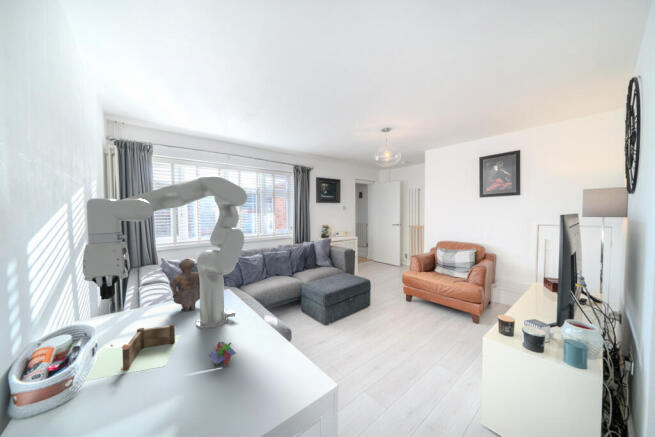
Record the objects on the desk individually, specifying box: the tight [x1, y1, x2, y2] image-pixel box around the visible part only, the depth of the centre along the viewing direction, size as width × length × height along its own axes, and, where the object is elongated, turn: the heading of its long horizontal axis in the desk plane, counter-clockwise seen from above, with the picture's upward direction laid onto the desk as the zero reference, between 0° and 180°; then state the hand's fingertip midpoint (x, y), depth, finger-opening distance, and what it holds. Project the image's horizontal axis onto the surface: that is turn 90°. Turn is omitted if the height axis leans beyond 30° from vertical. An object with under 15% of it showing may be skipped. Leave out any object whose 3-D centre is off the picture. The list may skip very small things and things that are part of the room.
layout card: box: [84, 334, 182, 382], centre depth 79 cm, size 23×20×1 cm
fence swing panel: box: [122, 331, 141, 370], centre depth 76 cm, size 12×2×8 cm, turn 22°
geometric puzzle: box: [208, 341, 237, 367], centre depth 75 cm, size 7×7×8 cm
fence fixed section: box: [136, 323, 176, 349], centre depth 84 cm, size 11×2×7 cm, turn 109°
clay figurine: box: [171, 258, 200, 312], centre depth 116 cm, size 13×10×25 cm
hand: (107, 297), depth 73 cm, fingers closed
